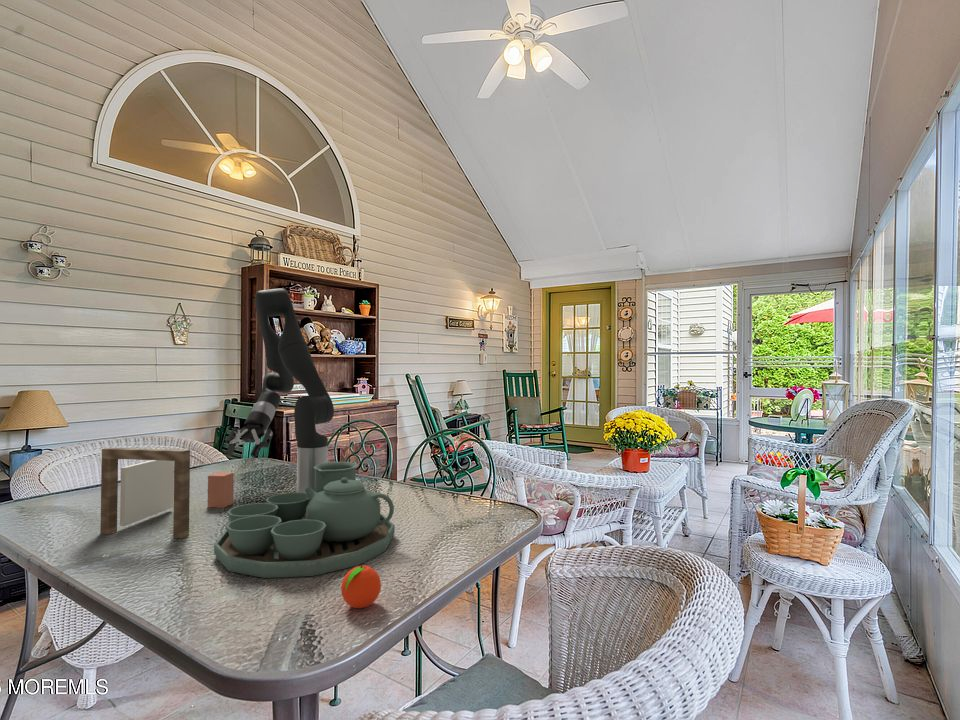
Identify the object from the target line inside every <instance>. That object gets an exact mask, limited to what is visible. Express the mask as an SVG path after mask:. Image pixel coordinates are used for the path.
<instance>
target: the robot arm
mask: <svg viewBox="0 0 960 720" xmlns="http://www.w3.org/2000/svg"><path fill="white" fill-rule="evenodd" d="M254 304H255V305H254V306H255V310H256V314H257V315H256V316H257V319H258V323H259V324H258V325H259V329H260V332H261V336H262V340H263V345H264V353H265V361H266V367H267V369H268V370H269V371H272V372H269V373H267V374H265V375H264V377H263V381H262V388H261V392H260V396H259V397H258V399H257V400H256V403H255V404H254V405H253V407H252V408H251V410H250V412H249V414H248V415H247V418H246V419H245V421H244V424H243V427H242V428H241V429H237V427H234V428H232V430H231V431H230V433H229V434H228V436H227V437H226V439H225V441H224V442H225V443H226V445H227V446H228V447H227V448H226V450H225V455H226V456H227V457H228V458H231V457H232V455H233V453H234V452H235V449H236V448H237V447H238V446H240V445H241V446H242V445H243V444H244V443H252V444H253V443H255V445H254V446H253V449H252V450H251V452H250V456H251V458H252V459H254V458H255V459H256V457H257V456H258V455H259V453H260V452H261V450H262V449H263V448H268V447H269V446H270V443H271V440H272V438H273V436H274V433H273V431H272V429H271V428H269V426H270V424H271V423H272V421H273V419H274V417H275V413H276V411H277V409H278V407H279V404H280V402H281V400H282V399H281V395H280V394H281V393H283V394H287V393H290V392H292V390H293V389H294V386H295V381H294V380H296V381H297V382H299V384H300V385H301V386H302V387H303V388H304V389H305V391H306V393H307V395H304V396H300V397H299V398H298V399H297V400H296V401H295V405H294V411H293V412H294V413H293V414H294V418H293V419H294V435H295V439H296V449H297V450H296V493H306V491H305V489H306V488H307V487H308V486H309V487H310V488H311V489H312V490H313V491H314V492H315V482H316V470H315V469H314V468H313V467H314V466H316V465H318V464H322V463H329V462H328V461H329V459H328V455H329V454H328V453H329V452H328V451H329V450H328V448H329V446H328V445H329V443H328V442H329V439H328V436H327V435H324V434H321V433H319V432H317V427H316V425H321V424H326V423H329V422H331V421H332V420H333V418H334V413H335V409H334V407H335V406H334V403H333V401H332V399H331V397H330V394H329V392H328V391H327V389H326V386H325V384H324V382H323V381H322V379H321V377H320V374H319V372H318V370H317V367H316V365H315V363H314V360H313V356H312V354H311V351H310V349H309V346H308V344H307V341H306V340H305V339H306V338H305V337H304V335H303V333H302V330H301V327H300V325H299V321H298V319H297V315H296V313H295V309H294V305H293V302H292V298H291V296H290V294H289V292H288V291H287V289H285V288H283V287H282V288H271V289H263V290H258V291H256V293H255V296H254ZM277 316H283V318H284V321H285V322H284V326H283V330H282V333H281V336H279V335H278V334H277V332H276V331H275V330H274V328H273V327H272V325H271V324H270V320H269V318H270V317H277ZM279 393H280V394H279ZM262 437H263V438H262ZM240 438H241V439H240ZM261 438H262V440H261Z"/></svg>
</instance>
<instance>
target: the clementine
mask: <svg viewBox="0 0 960 720" xmlns="http://www.w3.org/2000/svg"><path fill="white" fill-rule="evenodd" d="M340 586H341V588H340V589H341V596H342V598H343V600H344V601H345V603H346V604H347V605H348V606H350V607H352V608H355V609H364V608H367V607H369V606H370V605H372V604H373V603H374V602H375V601H376V600H377V599H378V598H379V595H380V592H381V588H382V584H381V578H380V575H379V573H378V572H377V571H376V570H375V569H374V568H372V567H371V566H368V565H358V566H353V567H352V569H350V570H349V571H347V573H346V574H345V575H344V577H343V579H342V581H341V585H340Z"/></svg>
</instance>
